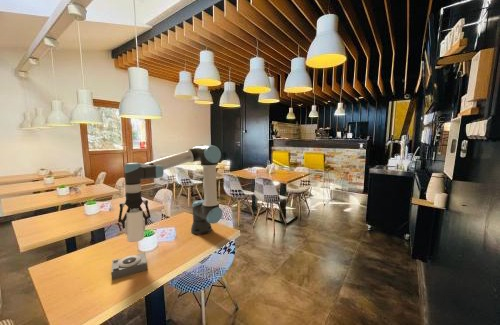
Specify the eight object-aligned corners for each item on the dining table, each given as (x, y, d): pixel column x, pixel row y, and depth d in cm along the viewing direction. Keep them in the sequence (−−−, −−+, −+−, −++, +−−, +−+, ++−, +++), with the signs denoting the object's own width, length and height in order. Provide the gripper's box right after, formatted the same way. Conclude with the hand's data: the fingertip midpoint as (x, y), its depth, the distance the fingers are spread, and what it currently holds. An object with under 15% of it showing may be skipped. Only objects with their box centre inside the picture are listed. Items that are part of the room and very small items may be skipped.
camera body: (145, 259, 126) (145, 250, 125) (147, 269, 115) (146, 260, 115) (113, 267, 118) (112, 258, 117) (111, 279, 107) (111, 270, 107)
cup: (136, 242, 115) (135, 213, 113) (123, 241, 116) (122, 212, 115) (147, 236, 123) (146, 208, 121) (134, 235, 124) (133, 207, 123)
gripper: (154, 188, 125) (155, 226, 127) (111, 192, 115) (113, 233, 117) (155, 190, 119) (156, 230, 121) (109, 195, 109) (112, 238, 111)
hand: (135, 232), depth 119 cm, fingers closed on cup, 8 cm apart
